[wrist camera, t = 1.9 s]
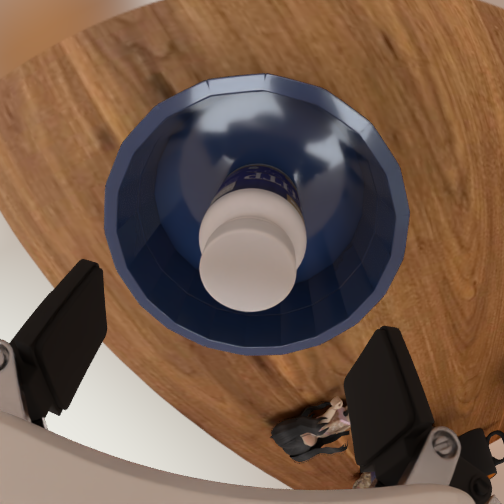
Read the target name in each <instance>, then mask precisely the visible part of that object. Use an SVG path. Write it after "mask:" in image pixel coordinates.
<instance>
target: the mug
mask: <svg viewBox="0 0 504 504" xmlns="http://www.w3.org/2000/svg"><path fill="white" fill-rule="evenodd" d="M495 434H497V435H499V436H501V438H502V440H503V443H504V433H503V432H501V431H499V430H496V431H493V432H491V433H490V434H489V435H488V436H487V437H485V435H484V432H483V430H482V429H475V430H472V431H469V432H467V433H465V434H463V435H461V436H459V437H458V439H459V441H460V445H461V451H460V456H461V457H463V458H464V459H465V460H467V461H468V462H469V463H471V464H472V465H473V466H475V467H476V468H478V469H479V470H480V471H482V472H483V473H484V474H486V475H487V476H488V478H489V480H490V479H491V478H492V477H494V476H495V475H496V474H497V471H496V467H495V466H496V465H498V464H501V463H503V462H504V458H503V459H501V460H498V459H496V458H494V457H492V455H491V452H490V449H489V440H490V438H491V437H492V436H493V435H495Z"/></svg>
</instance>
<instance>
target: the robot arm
mask: <svg viewBox="0 0 504 504" xmlns="http://www.w3.org/2000/svg"><path fill="white" fill-rule="evenodd" d="M106 333H107V320H106V310H105V297H104V282H103V270H102V269H101V268H99V265H98V263H96V262H92V261H89V260H85V259H81V260H80V261H79V262H78V263H77V264H76V265H75V266H74V267H73V269H72V270H71V271H70V272H69V273H68V274H67V275H66V276H65V277H64V279H63V280H62V281H61V282H60V283H59V284H58V285H57V287H56V288H55V289H54V290H53V291H52V292H51V293H49V294H48V296H47V297H46V298H45V299H44V300H43V302H42V303H41V304H40V305H39V306H38V308H37V309H36V310H35V311H34V313H33V314H32V315H31V316H30V317H29V319H28V320H27V321H26V322H25V324H24V325H23V326H22V328H21V329H20V330H19V332H18V333H17V334H16V336H15V337H14V338H13V339H12V341H11V342H10V343H8V342H6V341H4V340H1V339H0V504H501V503H500V501H499V500H498V499H497V498H496V496H495V495H492V496H491V493H492V486H491V482H490V480H489V478H488V476H487V475H486V474H484V473H483V472H482V471H480V470H479V469H478V468H476V467H475V466H473V465H472V464H471V463H469V462H468V461H467V460H465V459H464V458H463V457H461V456H460V451H461V445H460V441H459V439H458V437H457V435H456V434H455V433H454V432H453V431H452V430H451V429H449V428H447V427H443V426H439V427H435V428H434V429H433V427H432V424H433V423H434V419H433V416H432V413H431V410H430V407H429V404H428V401H427V398H426V396H425V393H424V390H423V387H422V385H421V382H420V379H419V377H418V374H417V372H416V369H415V366H414V364H413V361H412V359H411V356H410V354H409V351H408V349H407V347H406V344H405V342H404V339H403V337H402V335H401V332H400V330H399V329H398V328H395V327H388V326H382V327H381V328H380V329H377V330H376V331H375V332H374V334H373V336H372V337H371V339H370V340H369V342H368V344H367V345H366V347H365V348H364V350H363V352H362V353H361V355H360V356H359V358H358V359H357V361H356V362H355V364H354V365H353V367H352V368H351V370H350V371H349V373H348V374H347V376H346V378H345V380H344V390H345V396H346V402H347V408H348V414H349V420H350V426H351V432H352V439H353V446H354V453H355V460H356V463H357V465H360V472H361V473H363V472H374V471H375V476H376V477H375V479H374V480H373V482H372V483H371V485H370V486H369V488H364V489H346V490H290V489H273V488H260V487H251V486H241V485H234V484H227V483H220V482H214V481H208V480H203V479H197V478H192V477H188V476H183V475H178V474H174V473H170V472H166V471H162V470H158V469H154V468H150V467H147V466H143V465H140V464H136V463H132V462H130V461H126V460H123V459H120V458H117V457H114V456H111V455H109V454H106V453H103V452H100V451H97V450H95V449H92V448H89V447H87V446H84V445H82V444H79V443H76V442H74V441H72V440H69V439H67V438H65V437H62V436H60V435H58V434H55V433H53V432H51V431H49V430H48V428H47V425H46V421H45V417H46V415H47V413H48V411H50V412H52V413H54V414H56V415H58V416H60V414H61V412H62V410H63V409H64V410H66V409H67V408H68V407H69V405H70V403H71V401H72V399H73V397H74V395H75V393H76V391H77V389H78V387H79V385H80V383H81V381H82V379H83V377H84V375H85V373H86V371H87V369H88V367H89V366H90V363H91V362H92V360H93V358H94V356H95V354H96V352H97V351H98V349H99V347H100V345H101V343H102V342H103V340H104V338H105V336H106Z"/></svg>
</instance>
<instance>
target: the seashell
mask: <svg viewBox="0 0 504 504" xmlns="http://www.w3.org/2000/svg"><path fill="white" fill-rule="evenodd" d="M370 485H371V473H370V472H363V474H362V475H361V477H360V478H359V479H358V480H356V482H355V483H354V485H353V489H364V488H369V486H370Z"/></svg>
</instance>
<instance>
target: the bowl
mask: <svg viewBox="0 0 504 504" xmlns="http://www.w3.org/2000/svg"><path fill="white" fill-rule="evenodd" d="M249 164H266V165H270V166H273V167H276V168H278V169H279V170H281V171H282V172H284V173H285V174H286V175H287V176H288V177H289V178H290V179H291V180H292V182H293V183H294V185H295V187H296V189H297V192H298V196H299V200H300V205H301V210H302V214H303V219H304V224H305V228H306V237H307V244H306V251H305V254H304V258H303V260H302V262H301V264H300V265H299V267H298V269H297V271H296V280H295V283H294V286H293V288H292V290H291V291H290V293H289V294H288V295H287V297H286V298H285V299H284V300H282V301H281V302H280V303H278V304H277V305H275V306H273V307H271V308H269V309H266V310H262V311H255V312H245V311H238V310H235V309H231V308H229V307H226V306H224V305H222V304H221V303H219V302H218V301H217V300H215V299H214V298H213V297H212V296H211V295H210V294H209V293H208V291H207V290H206V289H205V287H204V285H203V283H202V280H201V277H200V270H199V266H200V259H201V256H202V253H201V250H200V245H199V231H200V226H201V223H202V220H203V218H204V215H205V213H206V211H207V209H208V208H209V206H210V204H211V202H212V200H213V198H214V197H215V195H216V193H217V192H218V190H219V188H220V187H221V185H222V183H223V182H224V180H225V179H226V178H227V177H228V176H229V175H230V174H231V173H232V172H233V171H235V170H236V169H238V168H240V167H242V166H245V165H249ZM105 187H106V188H105V205H104V230H105V236H106V239H107V242H108V246H109V249H110V252H111V255H112V259H113V262H114V265H115V268H116V270H117V272H118V274H119V275H120V277H121V278H122V280H123V281H124V283H125V284H126V286H127V287H128V289H129V290H130V292H131V293H132V294H133V296H134V297H135V299H136V300H137V302H138V303H139V304H140V305H141V306H142V307H143V308H144V309H145V310H146V311H148V312H149V313H150V314H151V315H152V316H153V317H155V318H156V319H157V320H158V321H159V322H161V323H162V324H163V325H164V326H165V327H167V328H168V329H170V330H171V331H173V332H175V333H177V334H179V335H181V336H183V337H185V338H187V339H190V340H192V341H194V342H196V343H198V344H200V345H202V346H206V347H208V348H212V349H216V350H221V351H225V352H230V353H235V354H240V355H283V354H288V353H291V352H295V351H299V350H303V349H307V348H310V347H314V346H317V345H321V344H323V343H325V342H326V341H328V340H330V339H332V338H333V337H335V336H337V335H339V334H341V333H342V332H344V331H346V330H347V329H349V328H351V327H353V326H354V325H355V324H357V323H358V322H359V321H360V320H361V319H362V318H363V317H364V316H365V315H366V314H367V313H368V312H369V311H370V310H371V309H372V308H373V307H374V306H375V305H376V304H377V303H378V302H379V301H380V300H381V299H382V298H383V297H384V295H385V294H386V292H387V290H388V288H389V286H390V285H391V283H392V281H393V279H394V277H395V275H396V273H397V271H398V269H399V267H400V265H401V263H402V261H403V257H404V253H405V247H406V240H407V233H408V225H409V217H410V210H409V205H408V200H407V196H406V191H405V186H404V182H403V178H402V173H401V169H400V167H399V164H398V163H397V161H396V159H395V158H394V156H393V155H392V153H391V151H390V150H389V148H388V147H387V145H386V144H385V142H384V141H383V139H382V138H381V136H380V135H379V133H378V132H377V130H376V129H375V127H374V126H373V124H372V123H370V121H369V120H367V119H366V118H365V117H364V116H362V115H361V114H360V113H358V112H357V111H356V110H354V109H353V108H351V107H350V106H349V105H347V104H346V103H345V102H343V101H342V100H340V99H339V98H337V97H336V96H335V95H333V94H332V93H330V92H329V91H327V90H326V89H324V88H321V87H318V86H314V85H311V84H307V83H304V82H300V81H297V80H293V79H289V78H285V77H281V76H277V75H273V74H268V73H266V74H265V73H259V74H247V75H237V76H228V77H220V78H212V79H208V80H204V81H202V82H200V83H198V84H196V85H194V86H192V87H190V88H188V89H186V90H184V91H182V92H180V93H178V94H176V95H174V96H172V97H170V98H168V99H166V100H164V101H163V102H161V103H159V104H158V105H156V106H155V107H154V108H153V109H152V110H151V111H150V112H149V113H148V114H147V115H146V116H145V117H144V119H143V120H142V121H141V122H140V123H139V124H138V125H137V126H136V127H135V129H134V130H133V131H132V132H131V133H130V134H129V135H128V137H127V138H126V139H125V140H124V141H123V142H122V144H121V147H120V149H119V152H118V154H117V156H116V159H115V162H114V164H113V167H112V169H111V172H110V175H109V177H108V180H107V183H106V185H105Z"/></svg>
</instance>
